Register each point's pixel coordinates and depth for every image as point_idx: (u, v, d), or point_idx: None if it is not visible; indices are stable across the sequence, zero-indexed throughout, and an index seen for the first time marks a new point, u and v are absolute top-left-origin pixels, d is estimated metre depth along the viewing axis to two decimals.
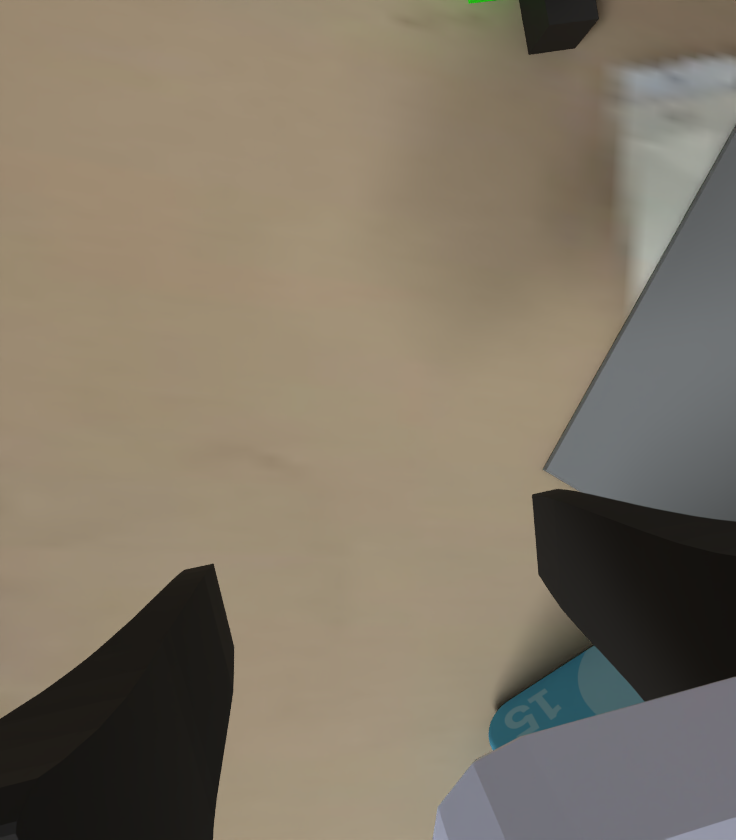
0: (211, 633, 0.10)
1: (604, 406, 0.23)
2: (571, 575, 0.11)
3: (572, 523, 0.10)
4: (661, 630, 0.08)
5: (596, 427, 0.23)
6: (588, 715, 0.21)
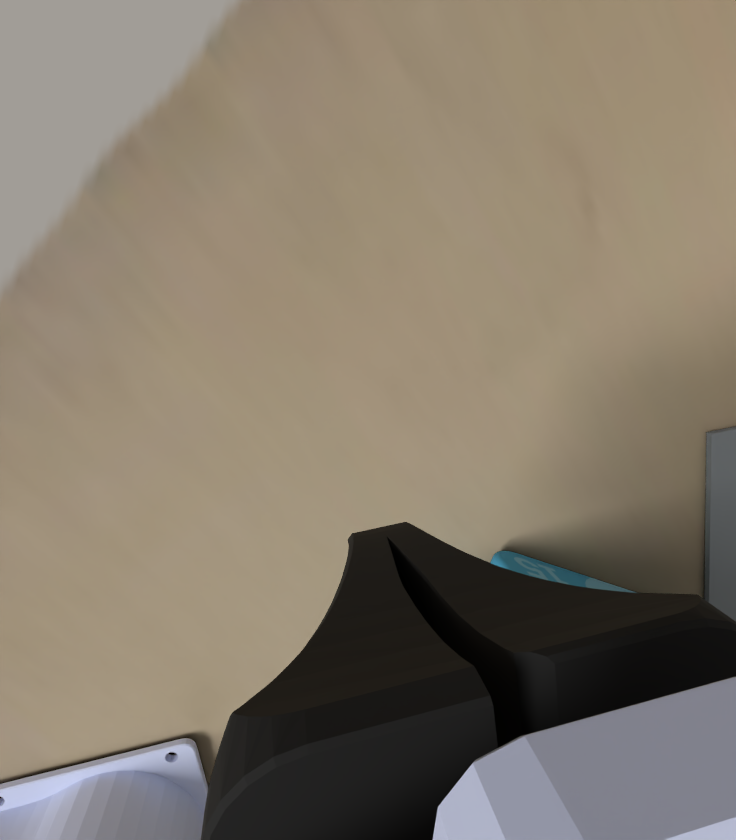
0: None
1: None
2: None
3: (397, 563, 0.10)
4: None
5: None
6: None
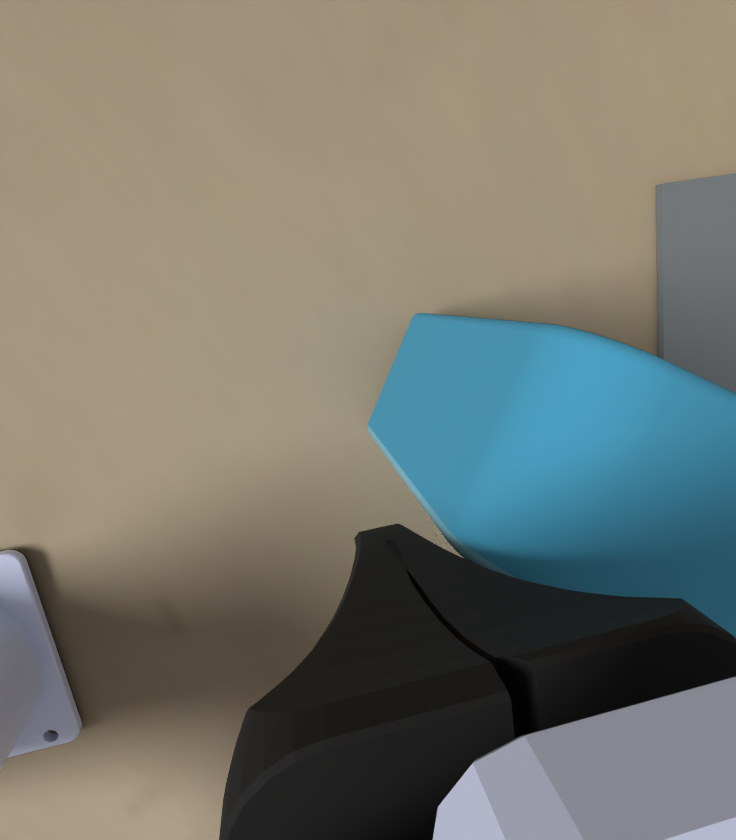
0: None
1: None
2: None
3: None
4: None
5: (726, 204, 0.20)
6: None
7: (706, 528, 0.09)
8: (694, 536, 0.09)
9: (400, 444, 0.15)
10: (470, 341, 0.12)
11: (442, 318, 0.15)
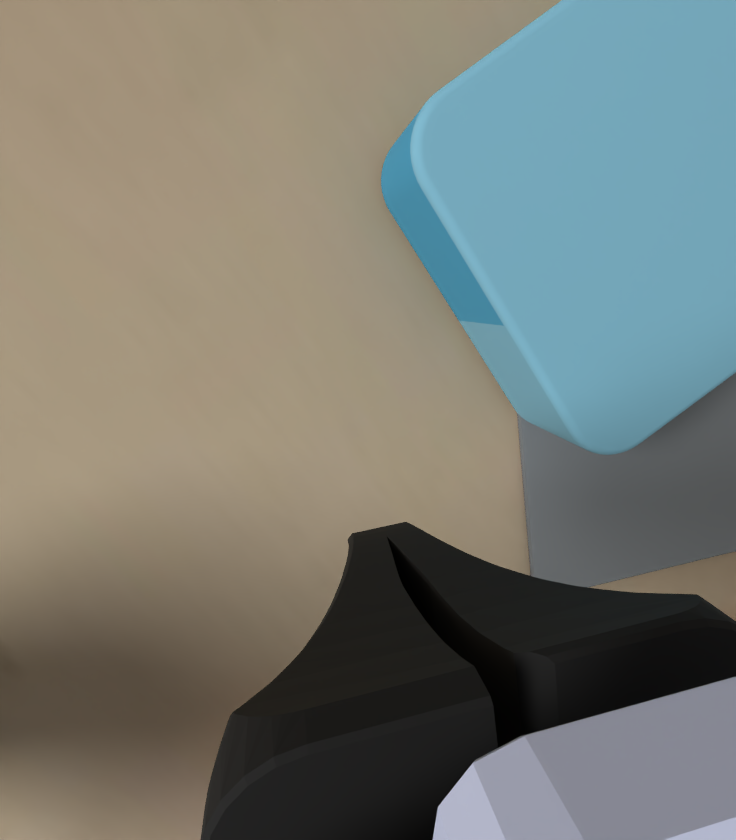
0: None
1: None
2: None
3: (397, 563, 0.10)
4: None
5: None
6: None
7: None
8: None
9: None
10: None
11: None
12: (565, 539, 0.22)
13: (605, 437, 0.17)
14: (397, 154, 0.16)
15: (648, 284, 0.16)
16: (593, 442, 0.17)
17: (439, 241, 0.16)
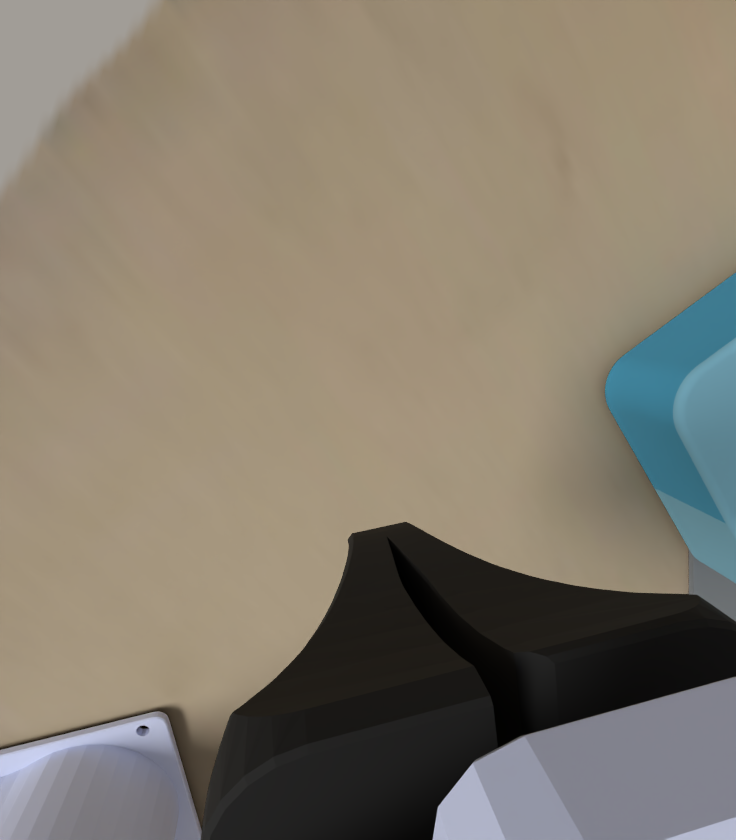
0: None
1: None
2: None
3: (397, 563, 0.10)
4: None
5: None
6: None
7: None
8: None
9: None
10: None
11: (680, 313, 0.22)
12: None
13: None
14: (643, 391, 0.20)
15: None
16: None
17: (674, 456, 0.20)
